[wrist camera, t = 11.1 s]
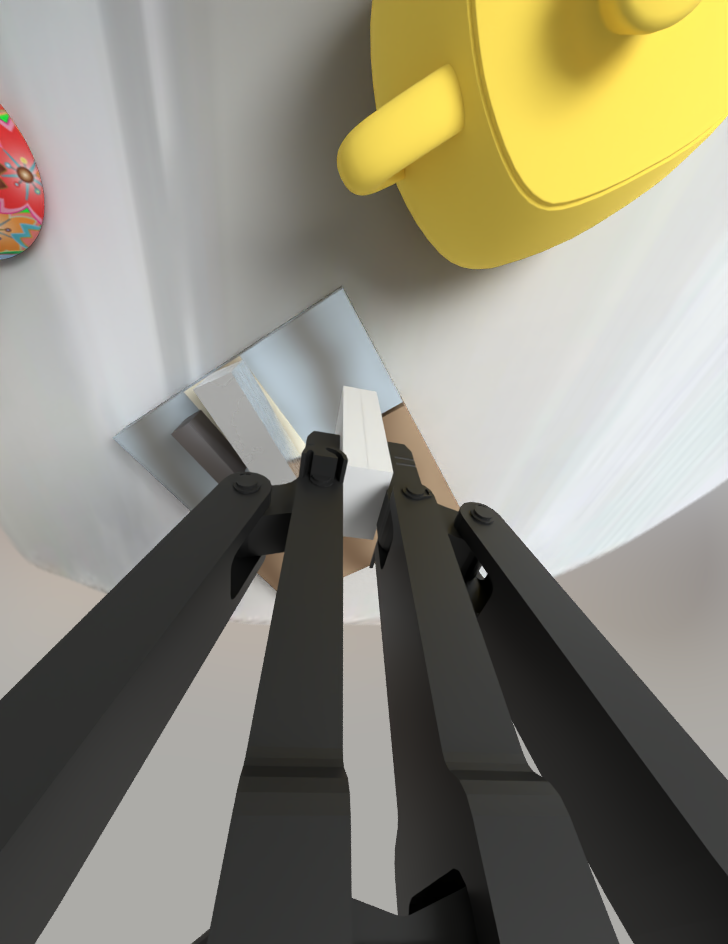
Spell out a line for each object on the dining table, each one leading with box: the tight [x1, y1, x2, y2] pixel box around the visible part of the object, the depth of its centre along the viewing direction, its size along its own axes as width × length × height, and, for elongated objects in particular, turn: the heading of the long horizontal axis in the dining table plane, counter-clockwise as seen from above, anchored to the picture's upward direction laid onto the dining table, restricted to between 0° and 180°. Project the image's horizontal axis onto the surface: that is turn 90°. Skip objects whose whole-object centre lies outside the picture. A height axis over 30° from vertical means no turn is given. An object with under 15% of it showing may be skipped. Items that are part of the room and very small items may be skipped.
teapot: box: [337, 0, 728, 269], centre depth 14 cm, size 13×20×12 cm
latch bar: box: [193, 359, 301, 485], centre depth 24 cm, size 13×3×4 cm, turn 22°
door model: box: [113, 287, 460, 591], centre depth 28 cm, size 19×21×4 cm
